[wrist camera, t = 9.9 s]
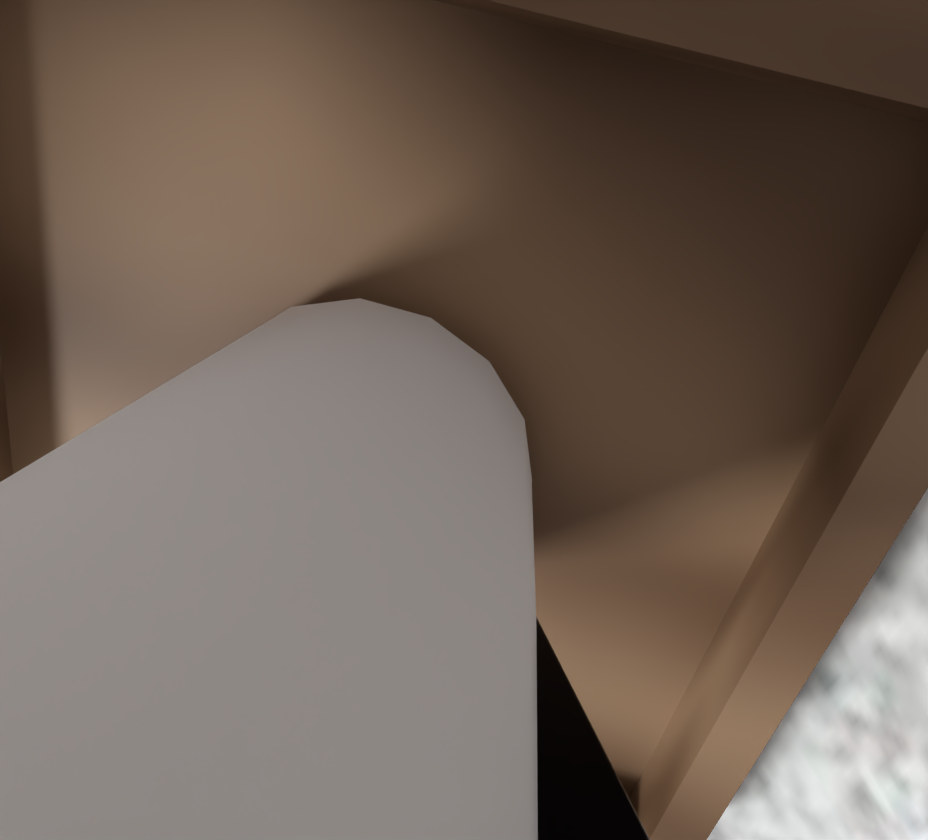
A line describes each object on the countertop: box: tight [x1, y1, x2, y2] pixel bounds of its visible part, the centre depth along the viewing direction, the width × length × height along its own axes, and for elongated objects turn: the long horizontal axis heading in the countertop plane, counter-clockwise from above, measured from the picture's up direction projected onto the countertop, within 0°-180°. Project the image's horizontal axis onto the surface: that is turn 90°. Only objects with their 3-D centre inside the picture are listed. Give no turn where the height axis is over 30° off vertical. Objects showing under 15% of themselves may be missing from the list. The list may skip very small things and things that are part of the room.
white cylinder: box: [0, 298, 538, 840], centre depth 7 cm, size 7×7×10 cm
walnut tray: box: [0, 0, 928, 840], centre depth 12 cm, size 16×16×2 cm
